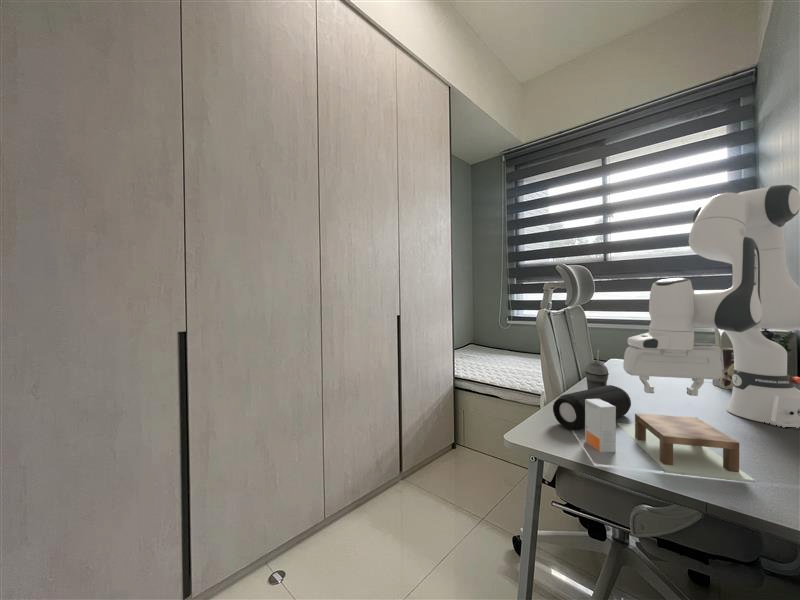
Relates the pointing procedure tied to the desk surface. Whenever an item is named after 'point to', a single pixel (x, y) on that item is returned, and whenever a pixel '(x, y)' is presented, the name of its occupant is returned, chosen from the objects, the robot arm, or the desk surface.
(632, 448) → the desk surface
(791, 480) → the desk surface
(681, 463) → the mat
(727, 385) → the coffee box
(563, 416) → the portable speaker
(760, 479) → the desk surface
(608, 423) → the skincare box
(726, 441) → the stool
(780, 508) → the desk surface
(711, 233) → the robot arm
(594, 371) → the beverage cup
